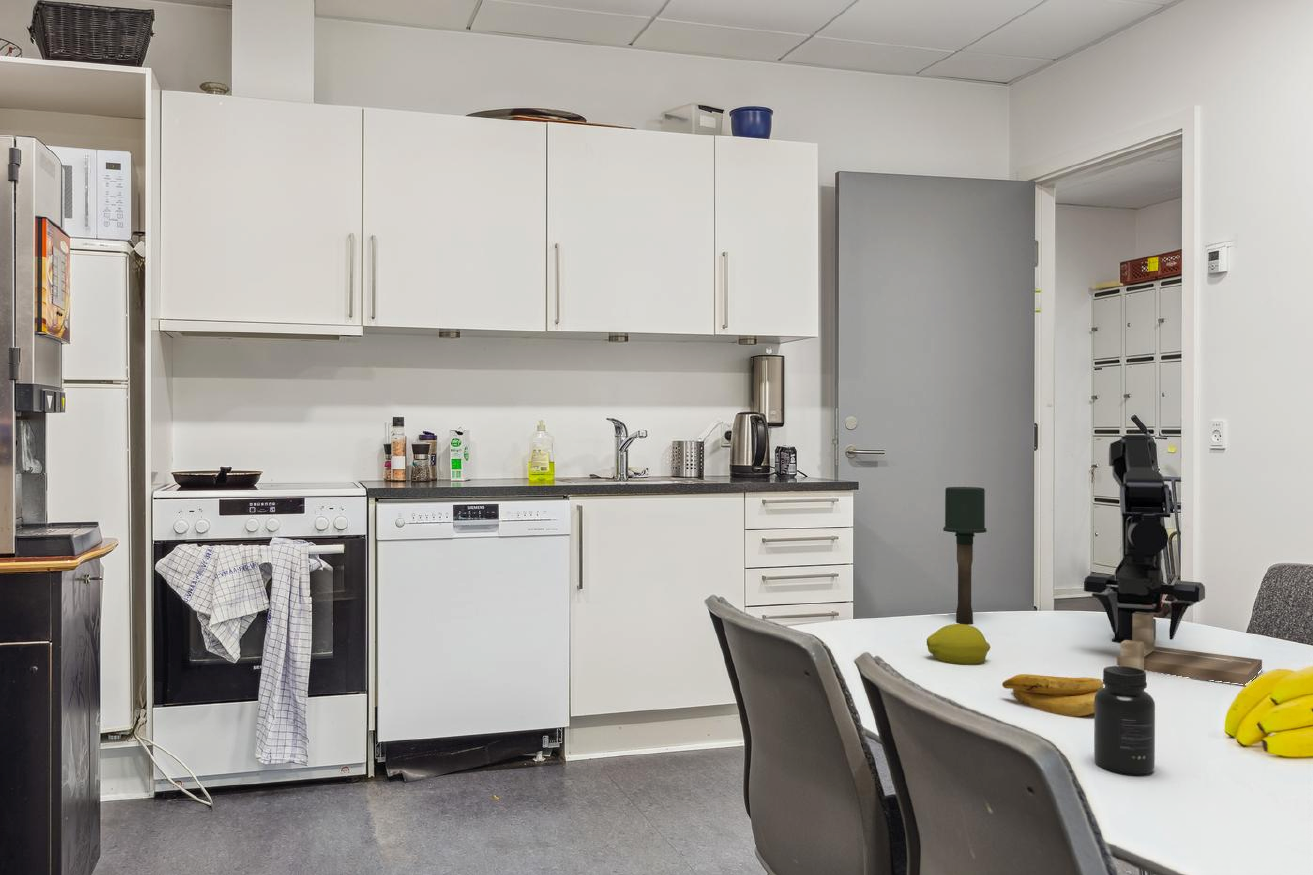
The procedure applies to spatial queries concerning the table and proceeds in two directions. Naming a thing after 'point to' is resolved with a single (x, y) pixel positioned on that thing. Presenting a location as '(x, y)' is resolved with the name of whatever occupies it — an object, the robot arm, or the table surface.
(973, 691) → the table surface
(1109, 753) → the supplement bottle
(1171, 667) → the board
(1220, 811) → the table surface
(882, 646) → the table surface
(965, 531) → the potato masher grenade
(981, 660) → the lemon
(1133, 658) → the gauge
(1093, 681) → the banana
